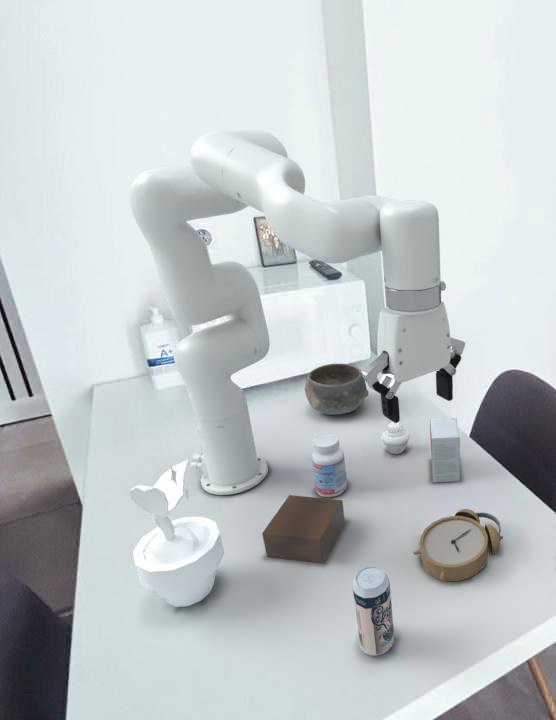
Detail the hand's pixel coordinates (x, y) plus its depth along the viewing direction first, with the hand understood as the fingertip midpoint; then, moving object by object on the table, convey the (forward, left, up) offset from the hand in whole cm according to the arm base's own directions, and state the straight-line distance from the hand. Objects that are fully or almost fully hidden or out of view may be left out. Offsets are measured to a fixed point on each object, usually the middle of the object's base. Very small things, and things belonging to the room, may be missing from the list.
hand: (419, 407), depth 80 cm
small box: (-1, +23, -28) cm, 36 cm away
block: (-21, 0, -27) cm, 34 cm away
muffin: (-13, +29, -28) cm, 42 cm away
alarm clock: (+6, +1, -28) cm, 28 cm away
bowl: (-32, +45, -28) cm, 61 cm away
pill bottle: (-22, +14, -28) cm, 38 cm away
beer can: (-3, -18, -28) cm, 33 cm away
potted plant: (-34, -13, -28) cm, 46 cm away
